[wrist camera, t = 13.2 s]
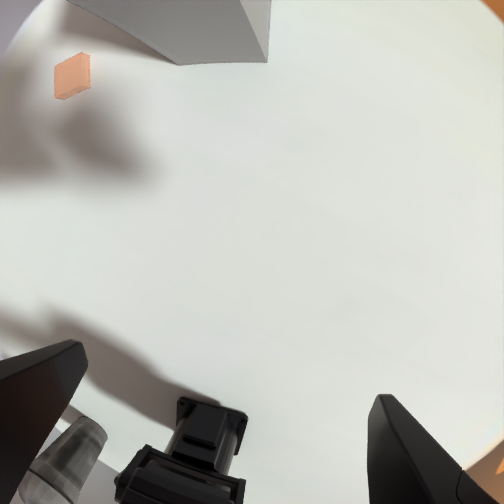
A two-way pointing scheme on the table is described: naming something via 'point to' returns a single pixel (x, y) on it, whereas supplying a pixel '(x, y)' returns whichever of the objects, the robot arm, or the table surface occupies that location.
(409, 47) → the table surface
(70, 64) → the terracotta block
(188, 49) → the smooth gray cuboid
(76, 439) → the beverage cup
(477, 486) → the robot arm
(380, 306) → the table surface
